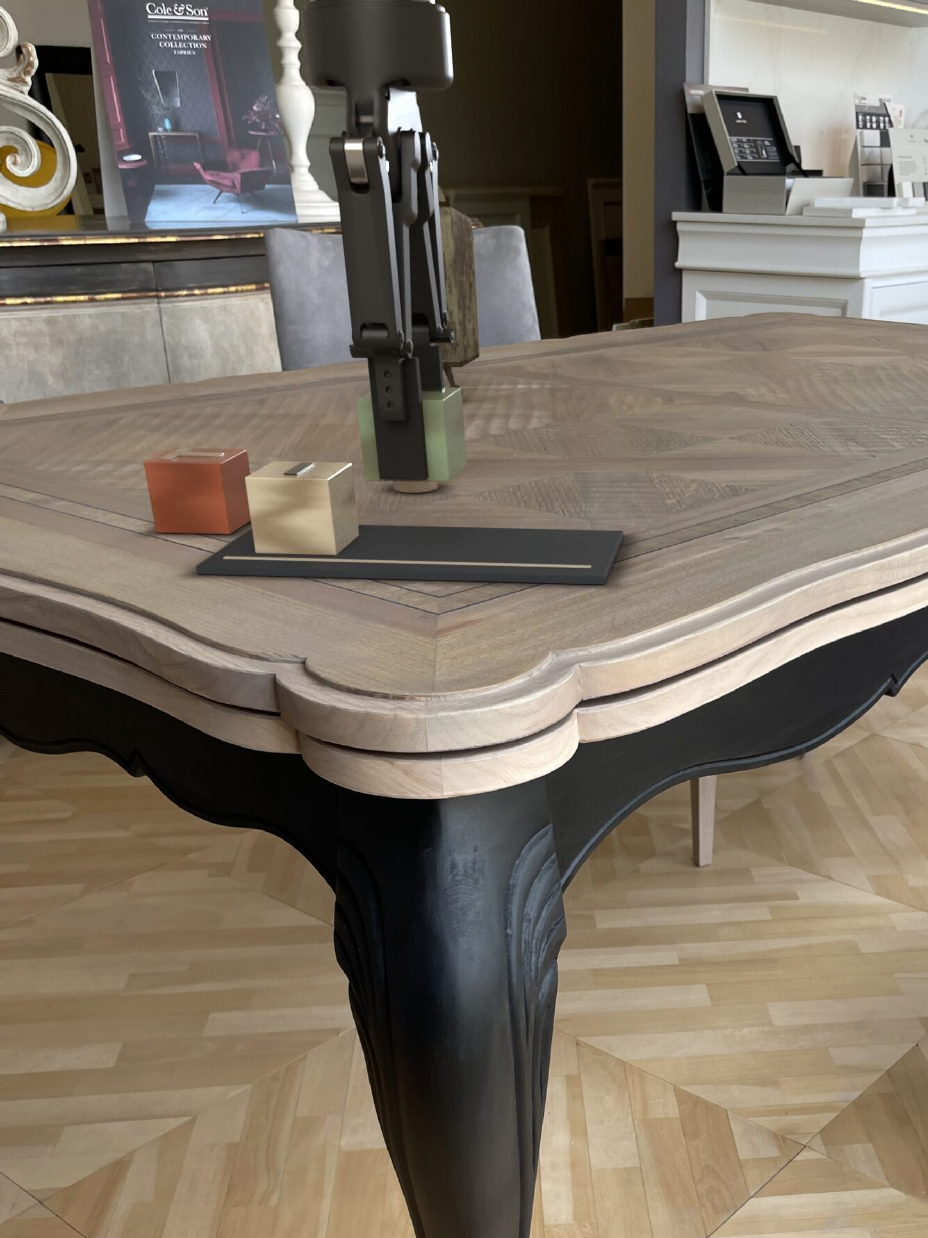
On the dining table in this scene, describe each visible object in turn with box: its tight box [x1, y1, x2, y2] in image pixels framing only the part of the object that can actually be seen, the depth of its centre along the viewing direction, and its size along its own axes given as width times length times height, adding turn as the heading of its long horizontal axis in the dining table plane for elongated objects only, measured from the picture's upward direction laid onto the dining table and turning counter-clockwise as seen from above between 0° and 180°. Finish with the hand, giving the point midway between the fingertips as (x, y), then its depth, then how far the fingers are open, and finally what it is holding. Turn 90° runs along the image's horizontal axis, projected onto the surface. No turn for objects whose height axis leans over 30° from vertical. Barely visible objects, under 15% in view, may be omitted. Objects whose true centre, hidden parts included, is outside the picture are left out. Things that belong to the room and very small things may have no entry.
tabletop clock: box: [435, 184, 480, 397], centre depth 129 cm, size 14×9×25 cm, turn 9°
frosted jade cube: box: [355, 387, 468, 483], centre depth 77 cm, size 5×5×5 cm
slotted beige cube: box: [245, 460, 359, 555], centre depth 80 cm, size 5×5×5 cm
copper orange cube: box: [143, 447, 251, 535], centre depth 86 cm, size 5×5×5 cm
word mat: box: [195, 524, 624, 586], centre depth 80 cm, size 24×11×1 cm, turn 86°
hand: (415, 467), depth 78 cm, fingers closed on frosted jade cube, 5 cm apart
